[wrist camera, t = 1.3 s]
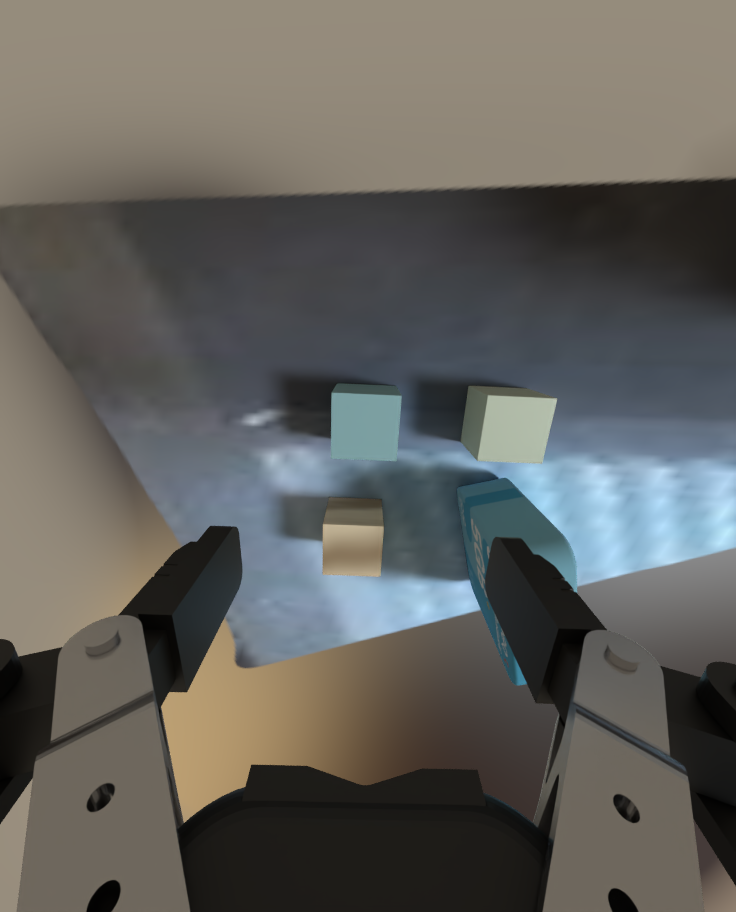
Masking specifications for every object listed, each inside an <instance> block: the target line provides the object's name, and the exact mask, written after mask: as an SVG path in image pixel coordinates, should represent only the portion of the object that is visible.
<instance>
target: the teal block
mask: <svg viewBox="0 0 736 912" xmlns="http://www.w3.org/2000/svg"><path fill="white" fill-rule="evenodd" d="M401 397H402V396H401V394H400V392H399V390H398V388H397V387H396V386H387V385H365V384H343V383H337V384H336V386H335V388H334V389H333V391H332V398H331V459H354V460H378V461H397V448H398V436H399V423H400V410H401Z"/></svg>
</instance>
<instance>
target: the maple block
mask: <svg viewBox="0 0 736 912" xmlns="http://www.w3.org/2000/svg"><path fill="white" fill-rule="evenodd" d="M383 533H384V522H383V511H382V500H381V499H365V498H340V497H329V500H328V504H327V508H326V513H325V517H324V521H323V575H349V576H377V577H380V574H381V560H382V546H383Z"/></svg>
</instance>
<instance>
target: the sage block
mask: <svg viewBox="0 0 736 912" xmlns="http://www.w3.org/2000/svg"><path fill="white" fill-rule="evenodd" d="M556 402H557V398H554V397H551V396H548V395H545V394H542V393H539V392H536V391H533V390H530V389H527V388H507V387H486V386H469V387H468V394H467V401H466V408H465V415H464V422H463V428H462V435H461V443H462V444H463V445H464V446H465V447H466V449H467V450H468V451H469V452H470V453H471V454H472V455H473V456H474V458H475V459H476V460H477V461H493V462H516V463H540V464H542V462H543V457H544V453H545V449H546V445H547V440H548V436H549V432H550V427H551V423H552V419H553V415H554V410H555V406H556Z"/></svg>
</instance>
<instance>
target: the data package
mask: <svg viewBox="0 0 736 912" xmlns="http://www.w3.org/2000/svg"><path fill="white" fill-rule="evenodd" d="M457 498H458V505H459V512H460V519H461V526H462V533H463V539H464V546H465V553H466V560H467V567H468V573H469V578H470V582H471V586H472V589H473V591H474V594H475V596H476V599H477V601H478V604H479V606H480V608H481V611H482V613H483V616H484V618H485V620H486V623H487V625H488V628H489V630H490V632H491V635H492V637H493V639H494V642H495V644H496V647H497V649H498V651H499V654H500V656H501V659H502V661H503V664H504V666H505V668H506V671H507V673H508V675H509V678H510V679H511V681H512V682H513V683H514V684H515V685H524V684H527V683H526V681H525V678H524V676H523V674H522V672H521V670H520V667H519V665H518V663H517V661H516V659H515V657H514V654H513V652H512V650H511V648H510V646H509V644H508V641H507V639H506V637H505V635H504V633H503V630H502V628H501V626H500V624H499V622H498V620H497V617H496V615H495V613H494V611H493V609H492V607H491V604H490V602H489V600H488V598H487V594H486V589H485V576H486V571H487V566H488V561H489V556H490V550H491V545H492V541H493V539H494V538H495V537H518V538H521V539H523V540H524V542H525V543H526V544H527V546H528V547H529V548H530V550H531V551H532V552H533V554H538V555H540V556H542V557H543V558H545V559H546V560H547V561H549V562H550V563H552V564H553V565H554V566H555V567H556V568H557V569H558V570H559V572H560V573H561V574H562V575H563V577H564V578H565V581H567V582H568V583H569V584H570V585H571V586H572V588H573V589H574V592H576V593H577V566H576V560H575V556H574V553H573V551H572V548H571V546H570V544H569V542H568V541H567V539H566V538H565V537H564V535H563V534H562V533H561V532H560V531H559V530H558V529H557V528H556V527H555V526H554V525H553V524H552V523H551V522H550V521H549V520H548V519H547V518H546V517H545V516H544V515H543V514H542V513H541V512H540V511H539V510H538V509H537V508H536V507H535V506H534V505H533V504H532V503H531V502H530V501H529V500H528V499H527V498H526V497H525V496H524V495H523V494H522V493H521V491H520V490H519V489H518V488H517V487H516V486H515V485H514V484H513V483H512V482H511V481H510V480H509V479H507V478H501V479H496V480H491V481H486V482H481V483H476V484H471V485H466V486H461V487H459V488H458V489H457Z"/></svg>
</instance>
